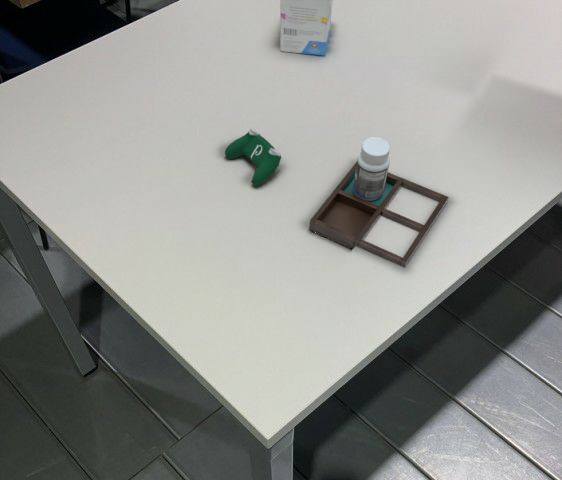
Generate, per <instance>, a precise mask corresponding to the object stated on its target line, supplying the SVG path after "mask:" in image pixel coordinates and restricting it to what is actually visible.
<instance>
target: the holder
mask: <svg viewBox="0 0 562 480" xmlns="http://www.w3.org/2000/svg"><path fill="white" fill-rule="evenodd" d="M356 165H357V161H355V163H354V164H353V166H351V168H350V169H349V171H348V172H347V173H346V175H344V177H343V178H342V180H341V181H340V182H339V183H338V184H337V186H336V187H335V188H334V190H332V191H331V194H330V195H328V197H327V198H326V200H324V202H323V203H322V204H321V206H320V207H319V208H318V209H317V211H316V212H315V214H313V216H312V217H311V218H310V220H309V224H308V225H309V227H308V231H309V230H311V231H310V232H312V231H313V232H312V233H314V232H316V233H318V234H320V235H319V236H321V235H322V236H321V237H323V236H324V237H323V238H325V237H327V238H329V239H328V240H330V239H331V240H330V241H332V240H333V241H332V242H334V241H336V242H338V243H340V244H339V245H341V244H342V245H341V246H343V245H345V246H347V247H349V248H348V249H350V248H352V249H353V250H354V249H355V248H356V247H358V248H360V249H363V250H365V251H367V252H369V253H371V254H374V255H375V256H378V257H381V258H383V259H385V260H388V261H390V262H392V263H394V264H397V265H398V266H401V267H403V268H405V267H406V266H407V265H408V263H409V261H410V260H411V258H412V257H413V255H414V254H415V252H416V250H417V249H418V247H419V246H420V244H421V243H422V242H423V240H424V239H425V237H426V235H427V233H428V232H429V230H430V229H431V227H432V226H433V224H434V223H435V221H436V220H437V219H438V216H439V215H440V214H441V212H442V210H443V209H444V207H445V206H446V204H447V203H448V201H449V199H450V198H449V196H448V195H444V194H442V193H441V192H438V191H435V190H433V189H430V188H428V187H425V186H423V185H420V184H419V183H415V182H413V181H411V180H409V179H405V178H403V177H400V176H398V175H396V174H393V173H391V172H389V171H388V173H387V178H386V183H385V187H384V192H383V194H382V196H381V197H380V198H378V199H377V200H374V201H366V200H364V199H361V198H359V197H357V196H356V195H355V194H354V191H353V185H354V179H355V172H356ZM401 188H405V189H407V190H410V191H412V192H415V193H416V194H420V195H422V196H424V197H426V198H429V199H431V200H434V201H437V202H438V203H437V205H436V206H435V208H434V209H433V211H432V212H431V214H430V216H429V217H428V219H427V220H426V221H425V223H424V224H422V223H420V222H418V221H416V220H413V219H411V218H408V217H406V216H404V215H403V214H399V213H396V212H395V211H392V210H390V209H387V208H388V206H389V205H390V203H391V202H392V200H393V199H394V197H395V196H396V195H397V194H398V192H399V190H400V189H401ZM380 217H384V218H385V219H389V220H390V221H392V222H394V223H397V224H399V225H403V226H404V227H406V228H409V229H412V230H414V231H416V232H418V234H417V235H416V237H415V238H414V239H413V241H412V243H411V245H410V246H409V248H408V249H407V251H406V252H405V254H404V255H403V256H401V255H399V254H396V253H393V252H392V251H389V250H387V249H384V248H382V247H380V246H377V244H373V243H372V242H369V241H367V240H365V238H366V237H367V235H368V234H369V233H370V231H371V230H372V228H373V227H374V226H375V224H376V223H377V221H378V220H379V219H380ZM316 233H315V234H316ZM318 234H317V235H318ZM327 238H326V239H327ZM336 242H335V243H336ZM338 243H337V244H338ZM345 246H344V247H345ZM347 247H346V248H347ZM352 249H351V250H352Z"/></svg>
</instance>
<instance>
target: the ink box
mask: <svg viewBox="0 0 562 480" xmlns="http://www.w3.org/2000/svg"><path fill="white" fill-rule="evenodd" d="M279 1H280V2H279V3H280V6H279V7H280V11H279V12H280V17H279V18H280V26H279V27H280V33H279V34H280V38H279V39H280V40H279V42H280V43H279V44H280V45H279V46H280V49H279V50H280V51H281V52H283V53H284V52H285V53H294V54H302V55H303V54H304V55H312V56H313V55H314V56H323V57H325V56H326V54H327V49H328V44H329V40H330V34H331V26H332V14H333V1H334V0H279Z"/></svg>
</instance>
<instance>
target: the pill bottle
mask: <svg viewBox="0 0 562 480" xmlns="http://www.w3.org/2000/svg"><path fill="white" fill-rule="evenodd" d="M390 151H391V145H390V144H389V142H388V141H387V140H386V139H384V138H381V137H379V136H371V137H367V138H365V140H364V141H362V144H361V149H360V152H359V153H358V156H357V159H356V162H357V165H356V172H355V179H354V185H353V191H354V194H355V195H356V196H357V197H359V198H361V199H364V200H366V201H374V200H377V199H378V198H380V197H381V196H382V194H383V192H384V187H385V183H386V178H387V173H388V172H389V169H390V163H391V159H390Z"/></svg>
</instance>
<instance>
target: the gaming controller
mask: <svg viewBox="0 0 562 480" xmlns="http://www.w3.org/2000/svg"><path fill="white" fill-rule="evenodd" d="M224 155H225V157H226V158H227V159H228V160H231V159H236V158H239V157H241V156H244V155H245V156H246V158H247V159H249V160H250V162H252V163H253V164H254V165H255V167H257V168H256V170H255V171H254V172H253V176H252V178H251V181H250V182H251V183H252V184H253V185H254V186H255V187H258V186H260V185H261V184H262V183H264V182H265V181H267V180H268V179H269V178H270V177H271V176H272V175H273V174H274V173H275V172H276V170H277V169H278V167H279V166H280V162H281V159H282V155H281V153H280V152H279V151H278V149H276V148H275V147H274V145H272V144H271V143H270V142H269V141H268V140H267V139H265V137H263V136H262V135H261V133H260V132H258V131H257V130H256V129H253V128H249V131H248V132H246V133H245V134H244V135H242V136H241V137H238V138H237V139H235V140H234V141H232V142H231V143H229V144H228V145H227V146H226V147H225V150H224Z"/></svg>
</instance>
